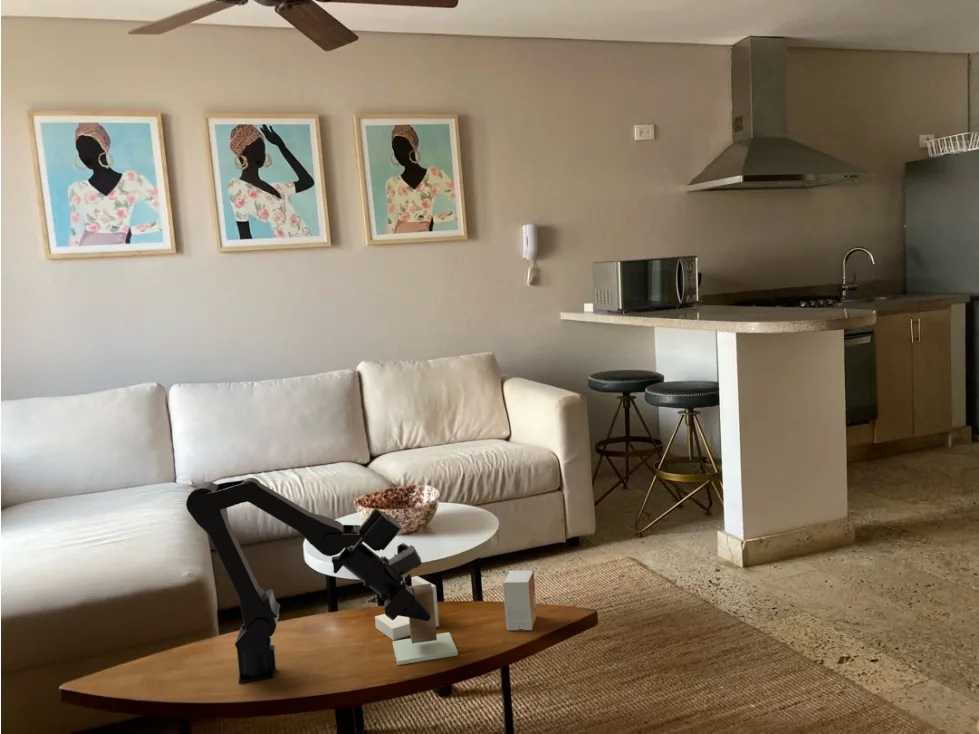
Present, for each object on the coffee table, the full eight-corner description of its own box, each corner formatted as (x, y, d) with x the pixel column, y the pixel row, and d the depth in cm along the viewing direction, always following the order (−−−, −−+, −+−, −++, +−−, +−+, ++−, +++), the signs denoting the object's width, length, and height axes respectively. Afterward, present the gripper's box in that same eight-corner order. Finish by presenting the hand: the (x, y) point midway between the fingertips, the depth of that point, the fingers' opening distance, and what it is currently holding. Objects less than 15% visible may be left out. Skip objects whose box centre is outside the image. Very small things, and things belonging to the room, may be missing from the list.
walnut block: (411, 643, 159) (408, 594, 158) (410, 633, 164) (406, 586, 163) (436, 640, 160) (433, 591, 159) (434, 630, 165) (430, 583, 164)
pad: (397, 665, 156) (397, 661, 156) (392, 645, 166) (392, 641, 166) (457, 655, 159) (457, 651, 159) (449, 635, 168) (449, 632, 168)
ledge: (393, 640, 168) (389, 598, 168) (375, 627, 176) (372, 587, 175) (439, 626, 174) (435, 585, 173) (420, 614, 182) (416, 575, 181)
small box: (532, 631, 168) (528, 582, 167) (506, 630, 169) (502, 582, 168) (537, 616, 176) (534, 569, 175) (512, 616, 177) (509, 569, 176)
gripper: (397, 549, 151) (459, 599, 153) (393, 524, 169) (449, 569, 172) (359, 595, 150) (422, 644, 153) (358, 565, 168) (415, 609, 171)
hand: (428, 614), depth 162 cm, fingers closed on walnut block, 5 cm apart
